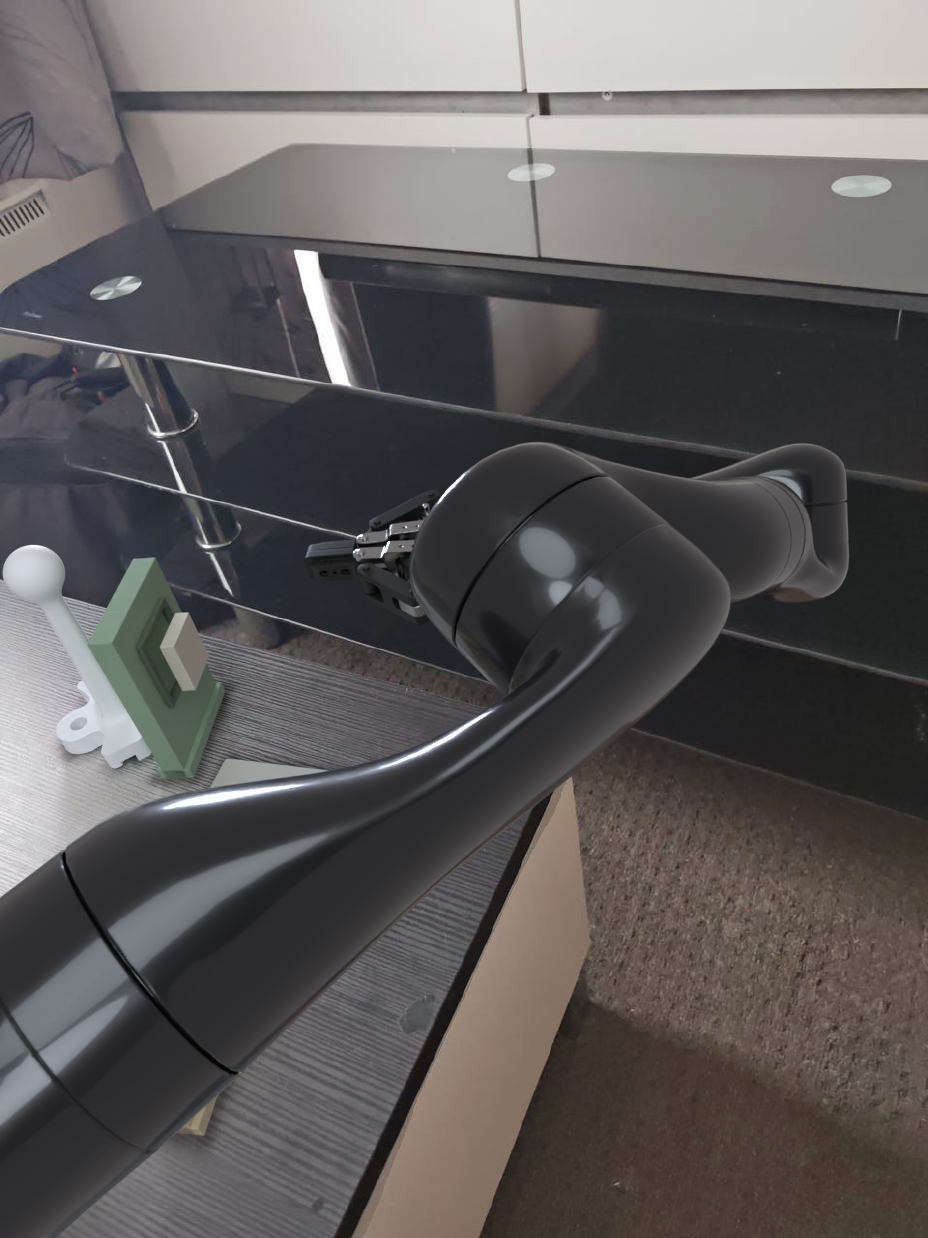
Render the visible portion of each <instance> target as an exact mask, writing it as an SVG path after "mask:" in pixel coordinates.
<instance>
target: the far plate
mask: <svg viewBox="0 0 928 1238" xmlns="http://www.w3.org/2000/svg"><path fill="white" fill-rule="evenodd" d="M175 613H183V612H182V610H181V607H180V606H179V604H178V602H177V600H176V597H175V595H174V593H173V591H172V589H171V587H170V585H169V583H168V581H167V578H166V577H165V575H164V572H163V570H162V569H161V566H160V564H159V562H158V560H157V558H156V557H145V558H133V559H131V561H130V564H129V566H128V568H127V569H126V571H125V573H124V575H123V577H122V578H121V581H120V583H119V584H118V586H117V588H116V590H115V591H114V594H113V595H112V598H111V599H110V601H109V603H108V605H107V607H106V608H105V611H104V613H103V614H102V616H101V618H100V619H99V621H98V623H97V625H96V627H95V629H94V631H93V633H92V634H91V637H90V638H89V639H90V640H89V642H88V644H87V646H88V647H89V649H90V651H91V652H92V654H93V656H94V657H95V659H96V661H97V662H98V664H99V666H100V667H101V669H102V671H103V672H104V674H105V676H106V677H107V679H108V681H109V682H110V684H111V686H112V687H113V689H114V691H115V693H116V694H117V696H118V698H119V699H120V701H121V703H122V704H123V706H124V708H125V709H126V711H127V713H128V714H129V716H130V718H131V719H132V721H133V723H134V724H135V726H136V728H137V729H138V731H139V733H140V734H141V736H142V738H143V739H144V741H145V743H146V744H147V746H148V748H149V749H150V751H151V754H152V756H153V758H154V759H155V761H156V763H157V765H158V766H157V768H156V772H157V774H158V776H159V778H160V779H161V780H173V779H194V778H195V777H196V774H197V771H198V768H199V766H200V763H201V760H202V757H203V754H204V752H205V749H206V747H207V744H208V740H209V738H210V735H211V732H212V729H213V727H214V724H215V721H216V719H217V715H218V713H219V710H220V707H221V705H222V701H223V698H224V696H225V693H226V689H225V687H224V685H223V682H216V679H215V677H214V675H213V673H212V672H211V670H210V667H209V665H208V664H207V663H208V662H207V663H206V665H205V668H204V670H203V673H202V676H201V678H200V681H199V683H198V686H197V688H196V690H191V691H182V689H181V687H180V685H179V683H178V682H177V680H176V678H175V676H174V674H173V672H172V670H171V668H170V666H169V664H168V663H167V661H166V659H165V657H164V655H163V653H162V651H161V649H160V646H161V643H162V641H163V639H164V637H165V635H166V632H167V630H168V628H169V626H170V624H171V621H172V619H173V617H174V615H175Z"/></svg>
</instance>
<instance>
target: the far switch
mask: <svg viewBox="0 0 928 1238" xmlns="http://www.w3.org/2000/svg"><path fill="white" fill-rule="evenodd" d="M160 649H161V651H162V653H163V655H164V657H165V659H166V661H167V663H168V664H169V666H170V668H171V670H172V672H173V674H174V676H175V678H176V680H177V682H178V683H179V685H180V687H181V689H182V691H191V690H196V688H197V686H198V683H199V681H200V678H201V676H202V673H203V670H204V668H205V665H206V663H208V661H209V658H210V654H209V652H208V650H207V648H206V646H205V643H204V641H203V640H202V637H201V636H200V633H199V631H198V629H197V626H196V625H195V623H194V620H193V617H192V616H191V614H190V612H182V613H175V615H174V617H173V619H172V621H171V624H170V626H169V628H168V630H167V632H166V635H165V637H164V639H163V641H162V643H161V646H160Z"/></svg>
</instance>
